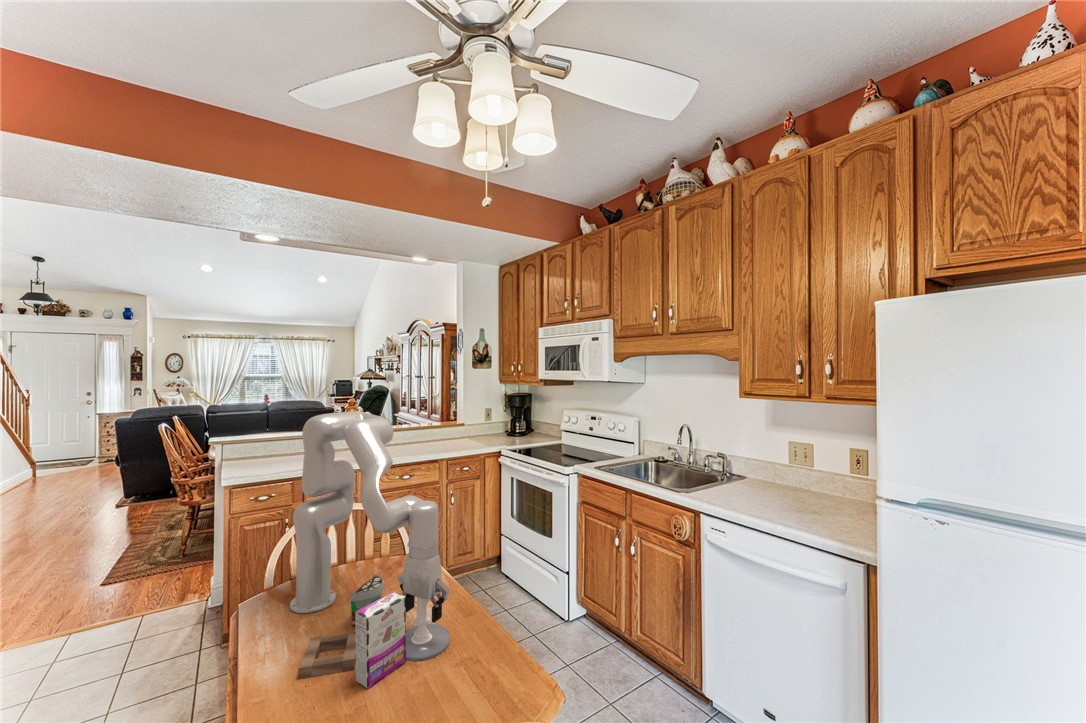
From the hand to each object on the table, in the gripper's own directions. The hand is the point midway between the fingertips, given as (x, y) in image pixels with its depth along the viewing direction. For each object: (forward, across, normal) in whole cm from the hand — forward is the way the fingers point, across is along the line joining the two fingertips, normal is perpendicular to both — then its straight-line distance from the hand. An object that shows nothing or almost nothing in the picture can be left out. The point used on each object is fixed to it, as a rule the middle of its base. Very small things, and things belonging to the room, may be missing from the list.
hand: (422, 614), depth 117 cm
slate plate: (+7, 0, 0) cm, 7 cm away
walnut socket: (+8, -16, -16) cm, 23 cm away
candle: (+6, 0, 0) cm, 7 cm away
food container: (+8, -21, +1) cm, 23 cm away
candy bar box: (+8, -1, -13) cm, 15 cm away
